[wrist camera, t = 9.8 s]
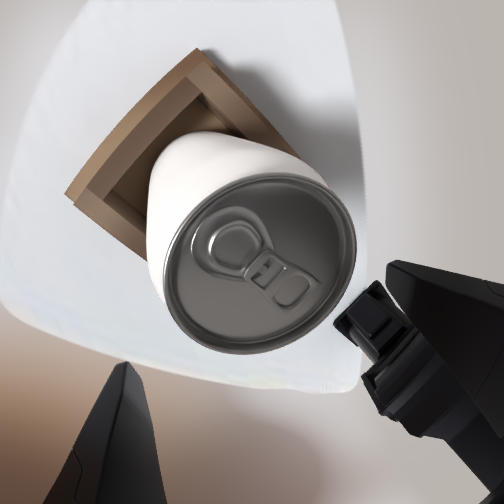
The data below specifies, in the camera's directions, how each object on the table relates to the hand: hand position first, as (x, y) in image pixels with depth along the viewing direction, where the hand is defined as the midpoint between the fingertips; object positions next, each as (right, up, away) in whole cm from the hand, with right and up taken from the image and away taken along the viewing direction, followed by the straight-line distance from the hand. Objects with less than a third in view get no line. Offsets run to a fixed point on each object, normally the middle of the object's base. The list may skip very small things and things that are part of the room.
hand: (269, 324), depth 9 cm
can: (-4, +7, +9) cm, 12 cm away
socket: (-4, +7, +10) cm, 13 cm away
